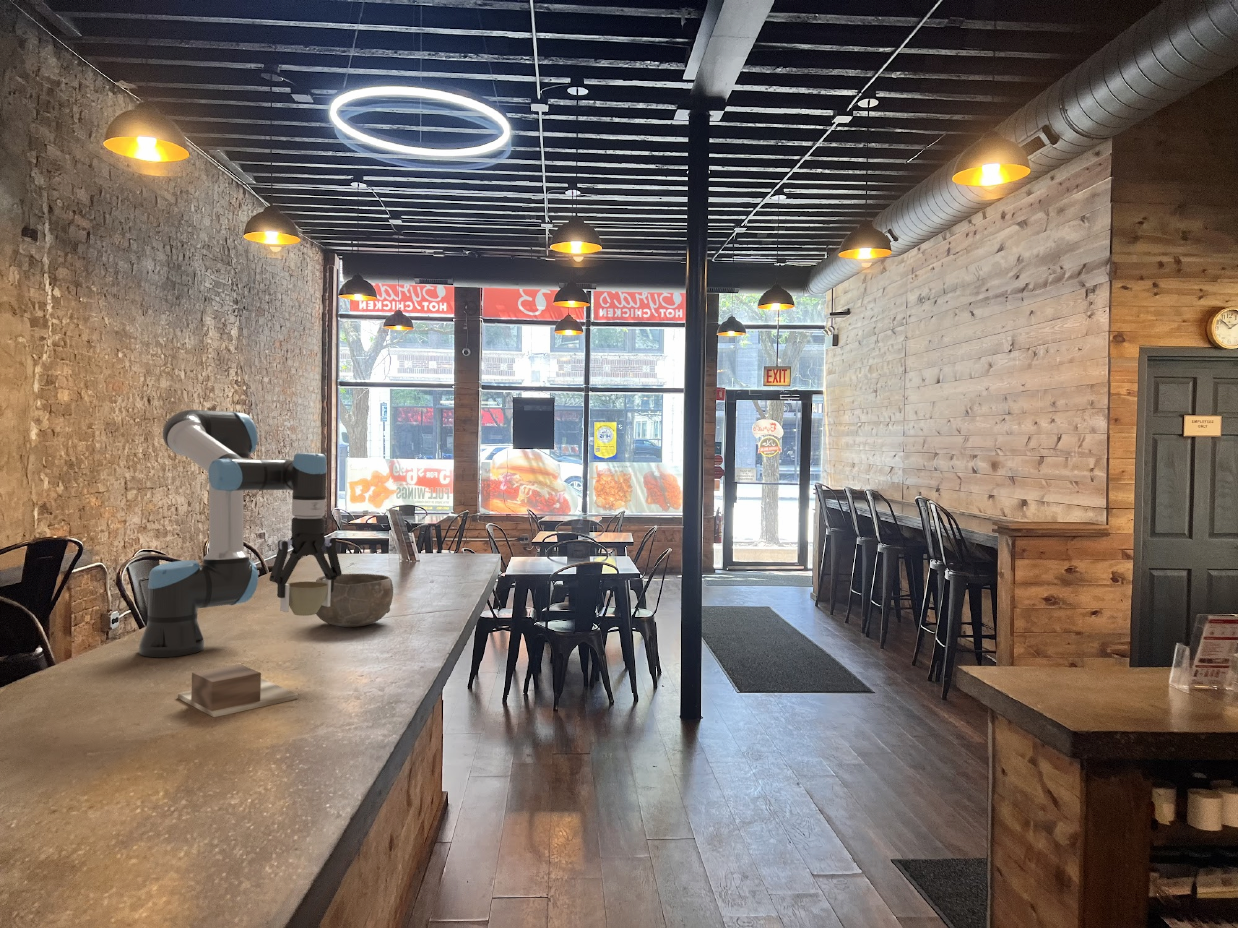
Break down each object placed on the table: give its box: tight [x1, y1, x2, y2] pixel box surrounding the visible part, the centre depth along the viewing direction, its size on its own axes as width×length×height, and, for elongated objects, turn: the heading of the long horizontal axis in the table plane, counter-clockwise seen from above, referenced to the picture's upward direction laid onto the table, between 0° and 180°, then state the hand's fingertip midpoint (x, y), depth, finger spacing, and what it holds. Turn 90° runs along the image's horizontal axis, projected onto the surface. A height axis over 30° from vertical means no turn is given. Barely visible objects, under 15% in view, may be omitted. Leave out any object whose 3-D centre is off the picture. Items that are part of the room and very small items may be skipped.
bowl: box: [315, 573, 394, 628], centre depth 251 cm, size 24×24×15 cm
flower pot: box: [286, 581, 328, 617], centre depth 194 cm, size 10×10×7 cm
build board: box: [177, 677, 299, 718], centre depth 176 cm, size 18×18×1 cm
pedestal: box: [191, 663, 262, 711], centre depth 170 cm, size 10×10×6 cm
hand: (305, 608), depth 194 cm, fingers closed on flower pot, 10 cm apart
